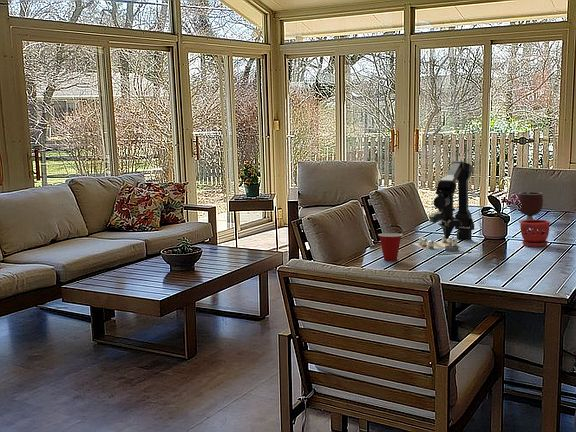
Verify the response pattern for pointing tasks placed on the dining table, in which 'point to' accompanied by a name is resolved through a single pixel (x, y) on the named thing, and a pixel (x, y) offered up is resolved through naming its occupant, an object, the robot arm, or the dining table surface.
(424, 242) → the steel spacers
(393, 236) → the plastic cup
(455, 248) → the dark grey hexagonal block
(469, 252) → the mat
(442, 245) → the board
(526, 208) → the mate gourd
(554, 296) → the dining table surface
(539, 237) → the plant pot
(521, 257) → the dining table surface
